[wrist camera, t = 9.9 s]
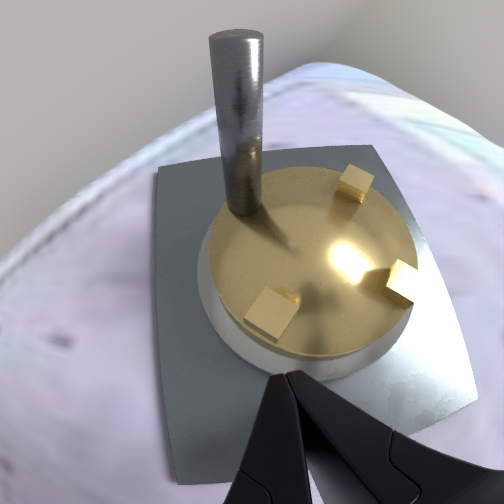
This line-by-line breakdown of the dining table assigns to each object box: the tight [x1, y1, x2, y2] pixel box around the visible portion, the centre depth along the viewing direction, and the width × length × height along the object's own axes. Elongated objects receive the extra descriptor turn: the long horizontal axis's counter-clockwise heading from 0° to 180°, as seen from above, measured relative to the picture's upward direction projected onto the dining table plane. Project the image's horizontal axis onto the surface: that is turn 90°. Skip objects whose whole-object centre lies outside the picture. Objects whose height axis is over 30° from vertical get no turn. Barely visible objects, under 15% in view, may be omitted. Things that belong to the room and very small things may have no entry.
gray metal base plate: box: [155, 145, 478, 485], centre depth 19 cm, size 24×20×2 cm
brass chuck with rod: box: [208, 29, 424, 362], centre depth 12 cm, size 12×12×12 cm
